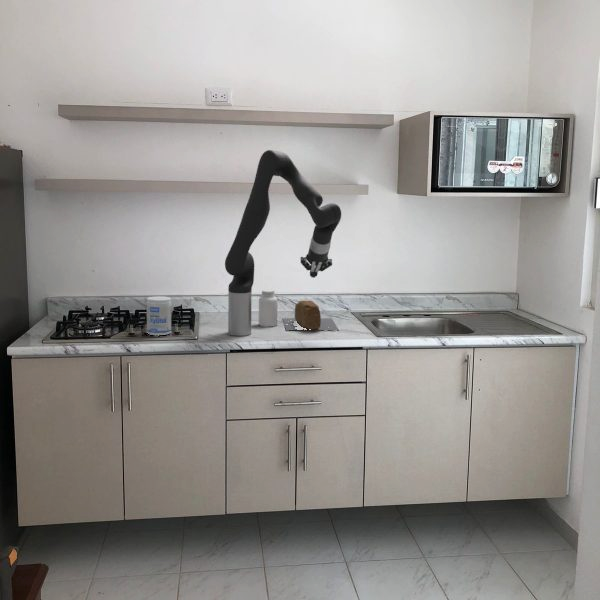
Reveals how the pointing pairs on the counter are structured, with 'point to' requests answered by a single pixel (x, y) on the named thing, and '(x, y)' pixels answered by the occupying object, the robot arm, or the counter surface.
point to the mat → (323, 326)
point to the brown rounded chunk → (308, 315)
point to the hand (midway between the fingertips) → (312, 275)
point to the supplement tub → (158, 315)
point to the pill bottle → (268, 309)
